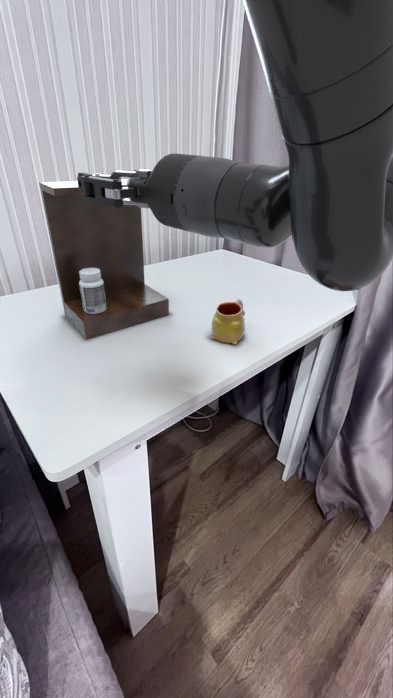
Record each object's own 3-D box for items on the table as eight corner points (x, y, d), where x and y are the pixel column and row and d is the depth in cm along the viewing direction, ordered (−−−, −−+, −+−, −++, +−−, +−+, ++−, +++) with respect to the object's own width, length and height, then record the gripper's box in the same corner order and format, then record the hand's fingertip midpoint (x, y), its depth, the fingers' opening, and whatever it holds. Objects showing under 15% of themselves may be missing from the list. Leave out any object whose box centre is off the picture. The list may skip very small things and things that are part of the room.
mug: (235, 348, 66) (239, 318, 63) (205, 339, 69) (207, 310, 65) (255, 324, 75) (259, 296, 72) (227, 316, 78) (230, 290, 74)
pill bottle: (111, 308, 70) (107, 270, 65) (94, 316, 67) (89, 276, 62) (95, 302, 72) (90, 265, 67) (78, 310, 69) (71, 271, 64)
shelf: (86, 339, 67) (61, 191, 52) (65, 316, 75) (38, 182, 60) (168, 314, 77) (168, 186, 63) (143, 296, 85) (136, 178, 70)
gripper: (243, 155, 38) (148, 147, 47) (150, 156, 29) (53, 146, 37) (236, 224, 42) (150, 205, 51) (153, 244, 33) (65, 216, 41)
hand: (109, 180), depth 44 cm, fingers open, 8 cm apart
